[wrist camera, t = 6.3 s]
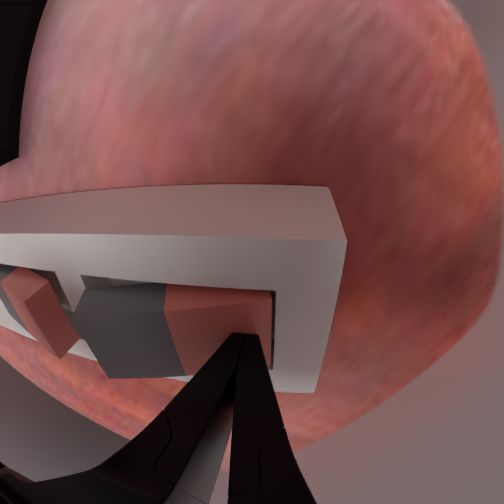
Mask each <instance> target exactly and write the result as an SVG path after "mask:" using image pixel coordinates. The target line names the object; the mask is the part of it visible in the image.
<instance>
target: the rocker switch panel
mask: <svg viewBox="0 0 504 504" xmlns="http://www.w3.org/2000/svg"><path fill="white" fill-rule="evenodd" d="M346 247H347V239H346V236H345V233H344V230H343V227H342V224H341V221H340V218H339V215H338V212H337V209H336V206H335V203H334V200H333V198H332V195H331V192H330V189H329V187H322V186H301V185H267V184H204V185H170V186H149V187H132V188H118V189H105V190H94V191H84V192H74V193H65V194H56V195H48V196H41V197H34V198H27V199H20V200H14V201H7V202H2V203H0V264H6V265H12V266H19V267H25V268H27V269H29V270H31V271H32V272H34V273H36V274H38V275H39V276H41V277H43V278H45V279H47V280H48V281H49V282H50V284H51V286H52V288H53V290H54V292H55V294H56V296H57V298H58V300H59V302H60V304H61V306H62V308H63V310H64V312H65V314H66V316H67V318H68V319H69V321H70V323H71V325H72V327H73V328H74V330H75V332H76V334H77V335H78V337H79V340H78V341H77V342H76V343H75V344H74V345H73V347H72V348H71V349H70V350H69V351H68V352H69V353H72V354H75V355H78V356H81V357H85V358H88V359H91V360H95V361H97V359H96V357H95V356H94V354H93V353H92V351H91V349H90V348H89V346H88V344H87V343H86V341H85V339H84V338H83V336H82V334H81V332H80V331H79V329H78V327H77V325H76V323H75V322H74V320H73V318H72V317H73V315H74V312H75V310H76V307H77V305H78V303H79V300H80V298H81V296H82V293H83V291H84V289H89V288H100V287H110V286H121V285H131V284H142V283H152V282H156V283H168V284H180V285H193V286H206V287H221V288H237V289H254V290H269V292H270V295H271V298H272V317H271V358H270V366H268V370H269V373H270V377H271V381H272V384H273V388H274V391H275V392H294V393H314V391H315V388H316V384H317V381H318V377H319V374H320V370H321V366H322V362H323V358H324V354H325V350H326V346H327V342H328V338H329V334H330V330H331V325H332V321H333V316H334V312H335V307H336V302H337V297H338V292H339V287H340V282H341V276H342V271H343V265H344V259H345V253H346ZM0 325H1V326H3V327H5V328H8V329H10V330H12V331H14V332H17V333H19V334H21V335H24V336H26V337H29V338H31V339H34V340H36V339H35V338H34V337H33V336H32V335H31V334H29V333H28V332H27V331H26V330H25V329H24V328H23V327H22V326H21V325H20V324H19V323H18V322H17V321H16V320H15V319H14V318H13V317H12V316H11V315H10V314H9V313H8V311H7V309H6V308H5V306H4V304H3V302H2V301H1V299H0ZM36 341H37V340H36ZM193 376H194V375H190V376H176V377H164V378H169V379H175V380H180V381H186V382H189V381H190V380H191V378H192V377H193Z"/></svg>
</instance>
